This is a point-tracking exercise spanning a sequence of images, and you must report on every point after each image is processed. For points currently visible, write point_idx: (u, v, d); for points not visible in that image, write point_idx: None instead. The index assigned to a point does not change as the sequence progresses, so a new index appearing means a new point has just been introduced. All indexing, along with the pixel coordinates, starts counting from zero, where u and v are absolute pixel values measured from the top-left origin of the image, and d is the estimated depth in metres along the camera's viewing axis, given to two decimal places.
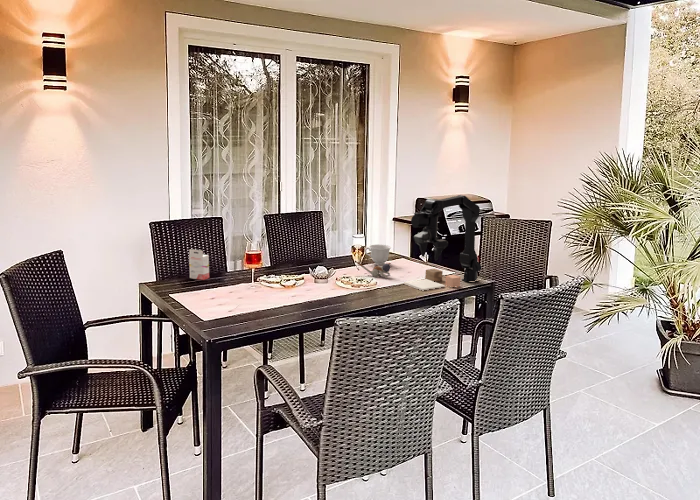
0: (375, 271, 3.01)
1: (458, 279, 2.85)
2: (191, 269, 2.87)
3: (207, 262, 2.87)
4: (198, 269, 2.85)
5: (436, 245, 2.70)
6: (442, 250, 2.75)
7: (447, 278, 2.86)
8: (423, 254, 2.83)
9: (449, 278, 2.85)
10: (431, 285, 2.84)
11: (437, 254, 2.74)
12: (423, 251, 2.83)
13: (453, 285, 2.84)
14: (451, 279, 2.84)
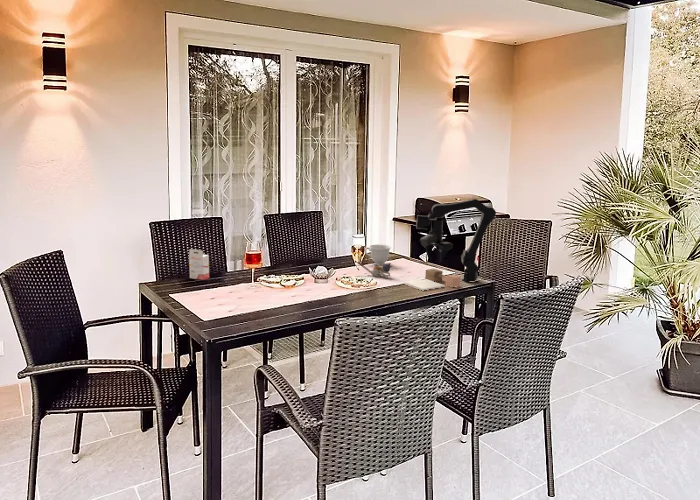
0: (375, 271, 3.01)
1: (458, 279, 2.85)
2: (191, 269, 2.87)
3: (207, 262, 2.87)
4: (198, 269, 2.85)
5: (441, 247, 2.87)
6: None
7: (447, 278, 2.86)
8: (429, 256, 3.00)
9: (449, 278, 2.85)
10: (431, 285, 2.84)
11: (442, 256, 2.91)
12: (429, 253, 3.00)
13: (453, 285, 2.84)
14: (451, 279, 2.84)
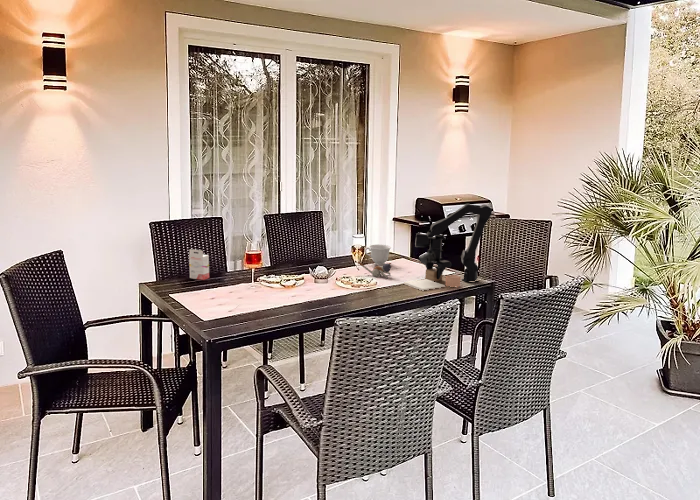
0: (375, 271, 3.01)
1: (458, 279, 2.85)
2: (191, 269, 2.87)
3: (207, 262, 2.87)
4: (198, 269, 2.85)
5: (440, 266, 2.89)
6: (444, 269, 2.95)
7: (447, 278, 2.86)
8: None
9: (449, 278, 2.85)
10: (431, 285, 2.84)
11: (439, 273, 2.94)
12: None
13: (453, 285, 2.84)
14: (451, 279, 2.84)
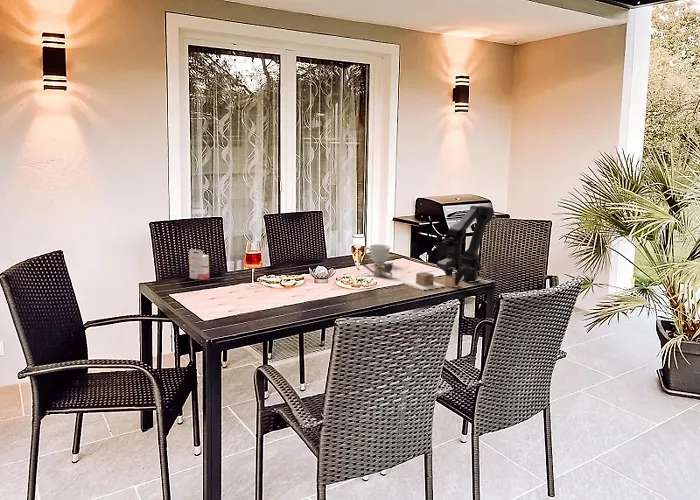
0: (377, 271, 3.01)
1: None
2: (191, 269, 2.87)
3: (207, 262, 2.87)
4: (198, 269, 2.85)
5: (460, 272, 2.78)
6: (463, 275, 2.84)
7: (447, 278, 2.86)
8: None
9: (449, 277, 2.85)
10: (431, 285, 2.84)
11: (458, 279, 2.83)
12: None
13: (453, 285, 2.84)
14: (451, 279, 2.84)
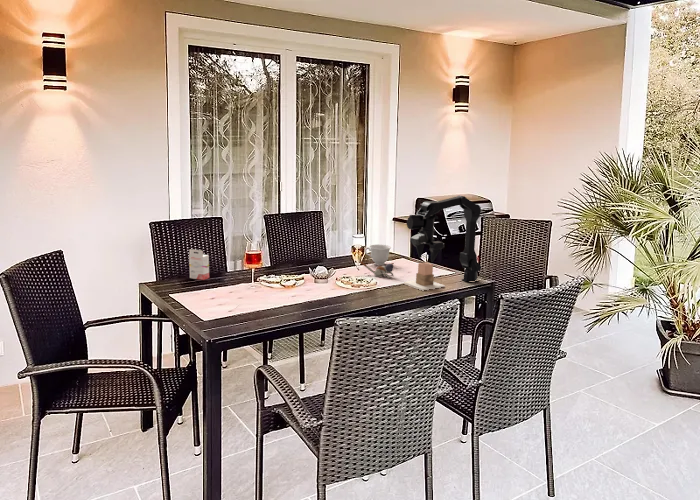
0: (378, 271, 3.01)
1: (430, 266, 2.83)
2: (191, 269, 2.87)
3: (207, 262, 2.87)
4: (198, 269, 2.85)
5: (432, 247, 2.74)
6: (438, 252, 2.79)
7: (419, 265, 2.84)
8: (420, 255, 2.87)
9: (422, 265, 2.83)
10: (431, 285, 2.84)
11: (433, 256, 2.79)
12: (420, 253, 2.87)
13: (425, 272, 2.82)
14: (423, 266, 2.82)
